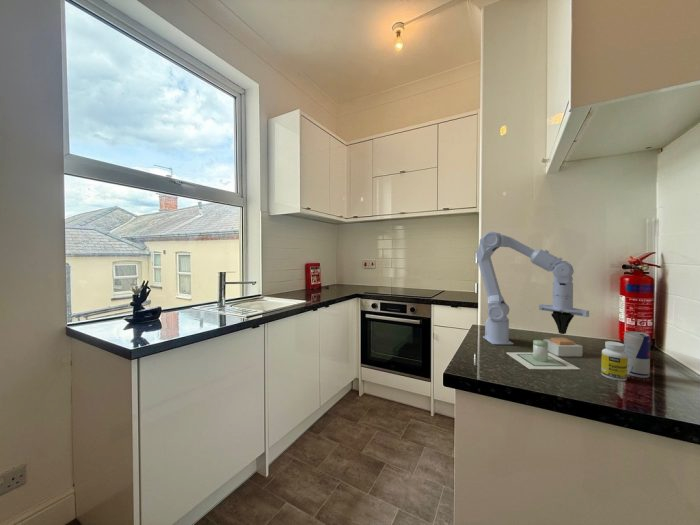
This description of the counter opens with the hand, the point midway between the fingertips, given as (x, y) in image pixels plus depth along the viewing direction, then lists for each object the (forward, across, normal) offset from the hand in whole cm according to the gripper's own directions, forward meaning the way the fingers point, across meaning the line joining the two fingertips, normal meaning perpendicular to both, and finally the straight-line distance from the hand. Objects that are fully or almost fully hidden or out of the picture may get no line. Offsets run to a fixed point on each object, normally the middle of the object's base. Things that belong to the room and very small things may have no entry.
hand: (562, 333), depth 100 cm
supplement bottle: (+7, +17, -10) cm, 21 cm away
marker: (+6, 0, -15) cm, 16 cm away
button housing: (+7, 0, 0) cm, 7 cm away
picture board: (+7, 0, -15) cm, 16 cm away
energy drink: (+7, +20, -3) cm, 21 cm away
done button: (+5, 0, 0) cm, 5 cm away
